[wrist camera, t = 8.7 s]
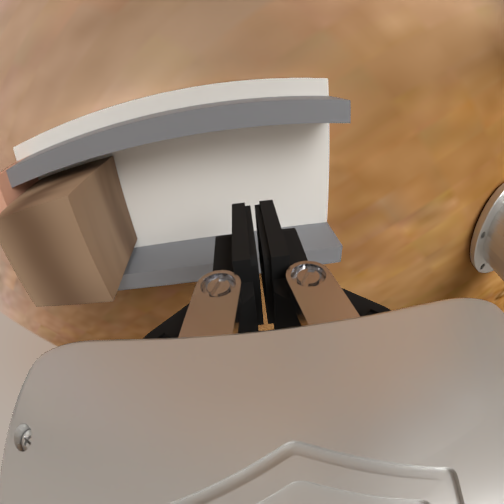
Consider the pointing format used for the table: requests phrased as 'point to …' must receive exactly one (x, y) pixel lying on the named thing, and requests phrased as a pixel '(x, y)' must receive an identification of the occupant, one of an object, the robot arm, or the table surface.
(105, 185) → the walnut block
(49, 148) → the chute
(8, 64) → the table surface
